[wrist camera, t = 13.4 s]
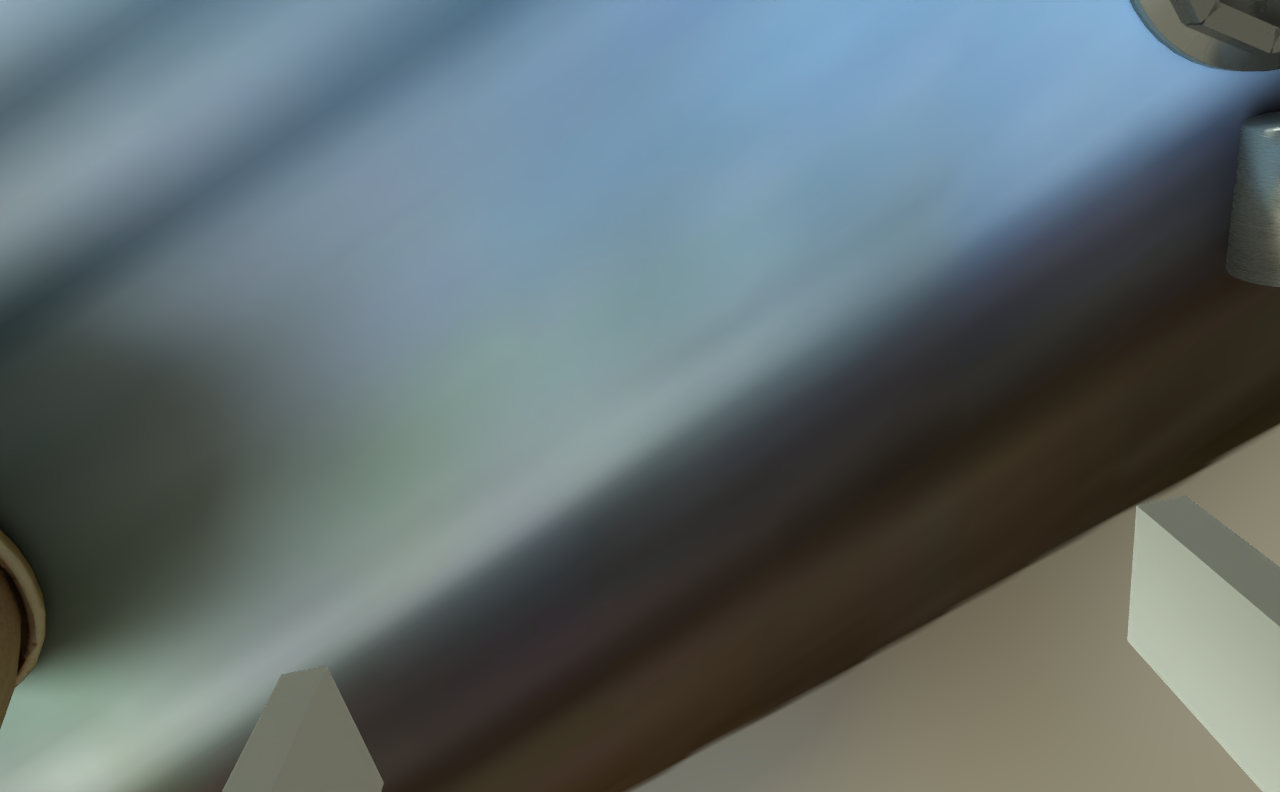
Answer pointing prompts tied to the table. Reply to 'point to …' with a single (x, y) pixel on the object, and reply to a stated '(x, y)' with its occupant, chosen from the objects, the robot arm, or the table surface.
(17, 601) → the potted plant
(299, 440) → the table surface
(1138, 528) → the robot arm
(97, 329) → the table surface
